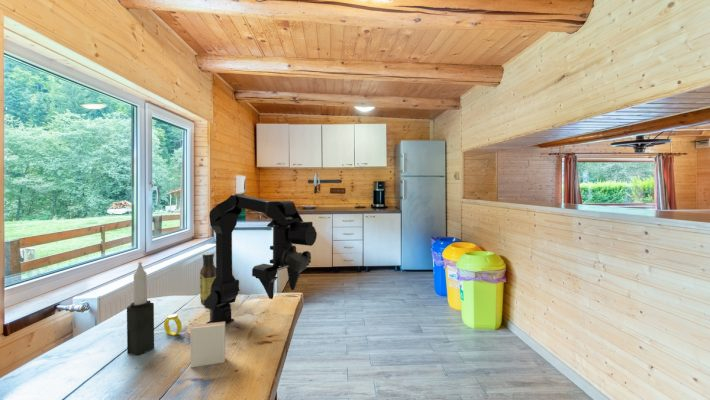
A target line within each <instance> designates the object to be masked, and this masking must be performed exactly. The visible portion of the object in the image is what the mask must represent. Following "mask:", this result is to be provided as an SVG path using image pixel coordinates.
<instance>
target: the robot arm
mask: <svg viewBox="0 0 710 400" xmlns="http://www.w3.org/2000/svg"><path fill="white" fill-rule="evenodd" d="M244 210H250V211H254V212H256V213H257V212H258V213H262V214H264V215H265V216H266V217H267V218H269V219H271V221H270V222H269V223H268V224H267V225H266V226H267V228H272V245H270V246H269V250H271V251H272V258H271V259H269V264H267V263H261V264H258V265H257V264H256V265H254V266H253V268H251V269H252V270H251V277H255V278H256V279H257V280H259V282H260V283H261V284H262V286H263V289H264V290H265V292H266V295H267V296H268V298H269V300H273V299H274V295H275V294H274V292H275V281H276V280H277V279H278V276H277V275H278V272H279V271H280V270H284V269H286V270H287V276H288V283H289V288H290V290H291V291H294V290H295V288H296V285H297V282H298V279H299V276H300V275H301V273H302V272H303V271H304V270H306V269H307V267H308V266H309V265H310V264H311V262H312V254H311V252H310V251H308V250H305V251H302V252H298V251H297V247H296V245H300V246H309V247H311V246H313V245H314V244H315V243H316V241H317V237H318V236H317V235H318V233H317V230H316V227H315V226H313V224H314V223H313V221H304V220H303V218H302V217H301V215H300V213H299V211H298V210H297V207H296V205H295V203H294V202H293V201H291V200H269V199H263V198H259V197H254V196H249V195H246V194H243V193H242V194H241V193H239V194H237V193H236V194H231V195H230V196H229V197H228V198H227V199H225V200H224V201H221V202H220V203H218V204H217V205H216V206H214V207H213V208H211V210H210V211H209V217H208V218H209V223H210V227H211V228H212V230H213V231H214V234H215V267H216V278H215V279H214V281H213V283H212V285H211V292H210V295H209V296H208V297H207V298H206V300H205V301H204V304H203V305H204V309H208V310H209V321H207V322H205V324H208V323H216V322H225V326H227V325H228V324H230V323H233V322H234V321H235V318H232V309H231V308H232V306H231V305H232V304H233V303H235V302H236V300H237V297H238V296H239V292H240V280H239V279H236V278H235V276H234V275H233V232H234V229H235V228H236V226H237V222H238V217H239V216H240V215H241V214H242V213H243V212H244Z"/></svg>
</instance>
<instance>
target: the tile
mask: <svg viewBox="0 0 710 400" xmlns="http://www.w3.org/2000/svg"><path fill="white" fill-rule="evenodd" d="M226 348H227V347H226V325H225V322H216V323H208V324H206V323H201V324H194V325H193V324H192V325H191V327H190V368H197V367H202V366H203V367H204V366H209V365H215V364H222V363H225V362H226V354H227V353H226V351H227V350H226Z"/></svg>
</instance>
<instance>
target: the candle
mask: <svg viewBox="0 0 710 400" xmlns="http://www.w3.org/2000/svg"><path fill="white" fill-rule="evenodd" d="M137 264H138V266H137V268H136V271H135V272H134V274H133V302H131V303H130V304H129V305H128V306H127V307H126V337H127V338H126V341H127V344H126V348H127V349H126V353H127V354H130V355H134V356H142V355H143V354H146V353H147V352H150V351H151V350H153V349H154V348H155V306H154V305H155V304H154V303H153V302H151V300H148V296H147V295H148V294H147V293H148V292H147V291H148V290H147V289H148V287H147V286H148V284H147V283H148V281H147V278H148V277H147V272H146V271H145V269H144V268H143V265H142V264H143V262H142V261H139V262H138V263H137Z"/></svg>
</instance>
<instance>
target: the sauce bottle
mask: <svg viewBox="0 0 710 400" xmlns="http://www.w3.org/2000/svg"><path fill="white" fill-rule="evenodd" d="M214 254H215V253H214V252H205V253H202V262H203V263H202V267H201V269H200V271H199V297H200V298H199V299H200V303H201V304H203V305H204V301H205V300H206V298H207V297H208V296H209V295H210V292H211V285H212V283H213V281H214V279H215V278H216V265H214V256H215V255H214Z"/></svg>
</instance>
